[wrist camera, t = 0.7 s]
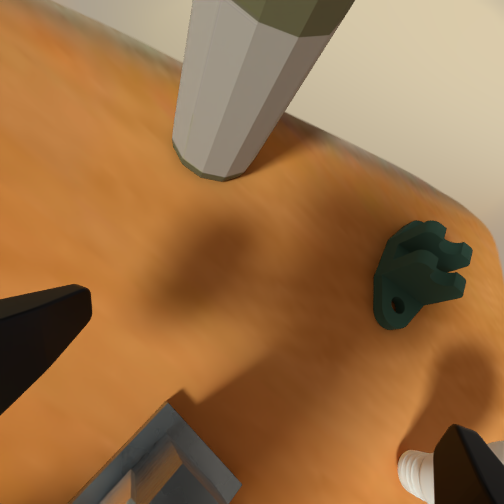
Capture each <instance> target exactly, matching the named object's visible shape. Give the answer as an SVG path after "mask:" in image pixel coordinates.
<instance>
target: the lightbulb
mask: <svg viewBox="0 0 504 504" xmlns="http://www.w3.org/2000/svg"><path fill="white" fill-rule="evenodd" d="M487 445H488V446H489V448H490V449H491V450H492V451H493V453H494V454H495V455H496V456H497V457H498V459H499V460H500V461H501V462H502V464H503V465H504V441H497V442H492V443H489V444H487ZM433 454H434V452H433V453H425V452H420V451H416V450H407V451H405V452H404V453H403V454H402V455H401V457H400V459H399V462H398V476H399V479H400V482H401V484H402V486H403V487H404V488H405V489H406V490H407V491H408V492H409V493H411V494H413V495H415V496H416V497H418V498H420V499H422V500H423V501H426V502H427V503H428V504H434V473H433Z"/></svg>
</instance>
